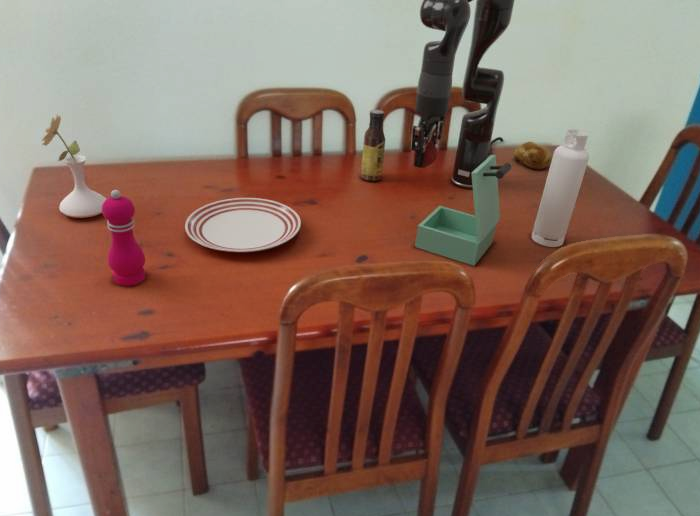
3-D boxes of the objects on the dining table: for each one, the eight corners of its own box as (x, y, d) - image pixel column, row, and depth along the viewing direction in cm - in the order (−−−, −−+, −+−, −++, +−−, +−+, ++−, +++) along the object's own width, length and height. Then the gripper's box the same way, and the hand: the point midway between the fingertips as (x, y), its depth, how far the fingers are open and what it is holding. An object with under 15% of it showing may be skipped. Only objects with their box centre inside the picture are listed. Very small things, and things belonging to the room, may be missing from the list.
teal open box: (414, 247, 146) (418, 225, 143) (436, 226, 156) (439, 205, 153) (474, 266, 141) (479, 243, 137) (492, 242, 151) (497, 221, 148)
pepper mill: (116, 268, 129) (100, 181, 118) (150, 269, 130) (138, 183, 118) (107, 287, 123) (90, 197, 112) (144, 287, 124) (130, 198, 112)
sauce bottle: (379, 183, 177) (386, 116, 166) (358, 180, 178) (364, 113, 166) (382, 175, 182) (389, 109, 171) (362, 172, 183) (368, 107, 172)
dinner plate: (204, 271, 130) (203, 258, 129) (173, 217, 150) (172, 205, 148) (319, 249, 142) (319, 237, 140) (276, 202, 162) (276, 190, 160)
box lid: (471, 172, 130) (497, 172, 127) (491, 154, 140) (515, 153, 137) (477, 241, 137) (501, 242, 134) (495, 219, 147) (518, 219, 145)
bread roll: (506, 158, 202) (511, 135, 197) (528, 155, 206) (533, 132, 201) (532, 173, 192) (538, 149, 188) (554, 169, 197) (561, 145, 192)
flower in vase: (82, 198, 155) (62, 101, 141) (119, 207, 153) (103, 109, 139) (45, 219, 145) (20, 116, 131) (84, 229, 142) (63, 125, 128)
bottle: (524, 236, 155) (552, 130, 139) (544, 229, 159) (573, 125, 144) (550, 250, 150) (582, 141, 134) (569, 242, 154) (602, 135, 138)
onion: (437, 166, 147) (443, 135, 143) (430, 174, 143) (435, 141, 138) (415, 161, 149) (420, 130, 145) (407, 168, 145) (411, 136, 140)
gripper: (436, 102, 129) (425, 175, 139) (460, 88, 140) (449, 157, 149) (405, 95, 132) (396, 167, 141) (431, 82, 143) (421, 150, 152)
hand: (423, 162), depth 145 cm, fingers closed on onion, 6 cm apart
